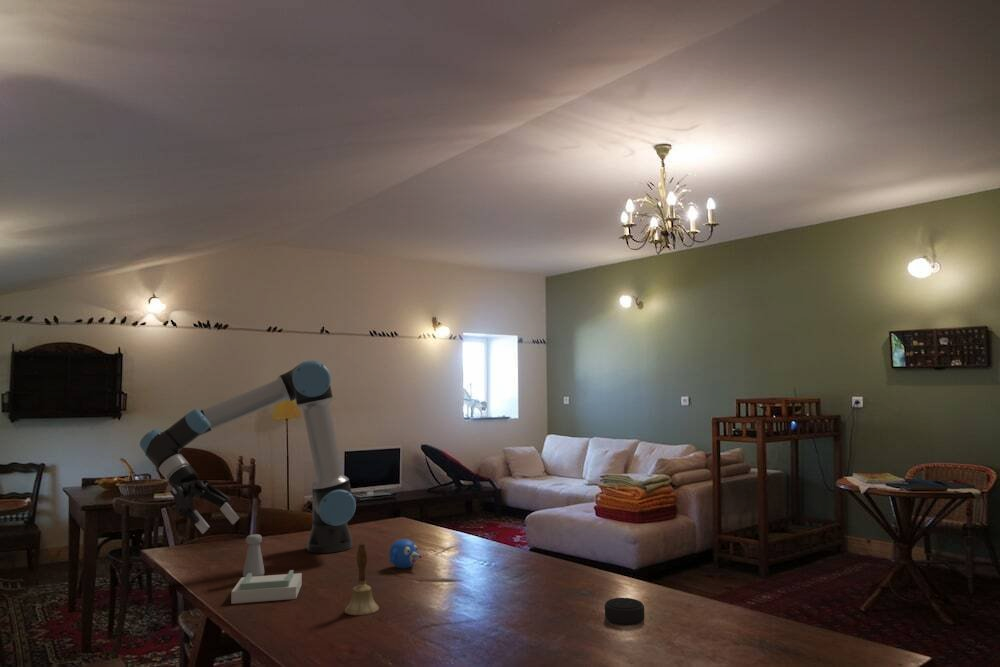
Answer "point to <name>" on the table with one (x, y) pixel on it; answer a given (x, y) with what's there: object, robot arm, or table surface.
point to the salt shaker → (254, 556)
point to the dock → (267, 588)
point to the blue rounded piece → (404, 553)
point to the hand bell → (361, 589)
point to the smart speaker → (624, 611)
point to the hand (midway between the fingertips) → (221, 525)
